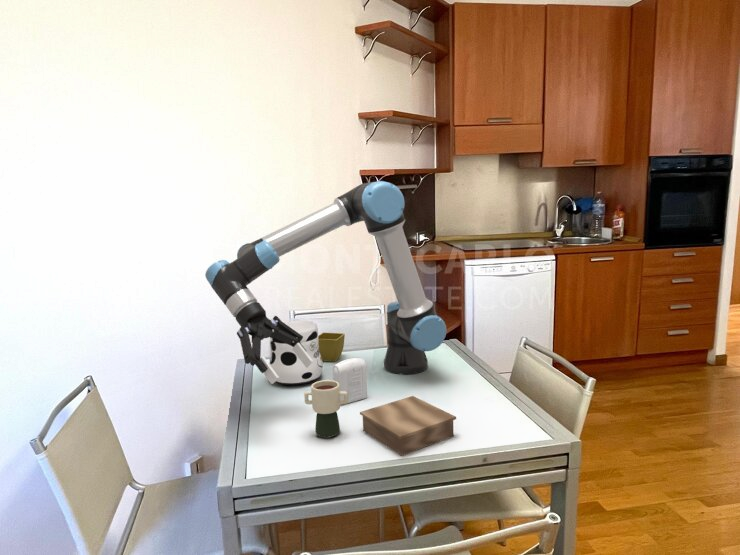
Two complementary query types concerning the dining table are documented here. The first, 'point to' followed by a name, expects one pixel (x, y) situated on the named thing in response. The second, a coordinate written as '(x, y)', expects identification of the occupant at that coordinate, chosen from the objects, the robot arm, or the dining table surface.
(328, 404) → the character mug
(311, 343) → the milk container
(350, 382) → the photo printer
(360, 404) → the dining table surface
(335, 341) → the flower pot
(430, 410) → the walnut stand
